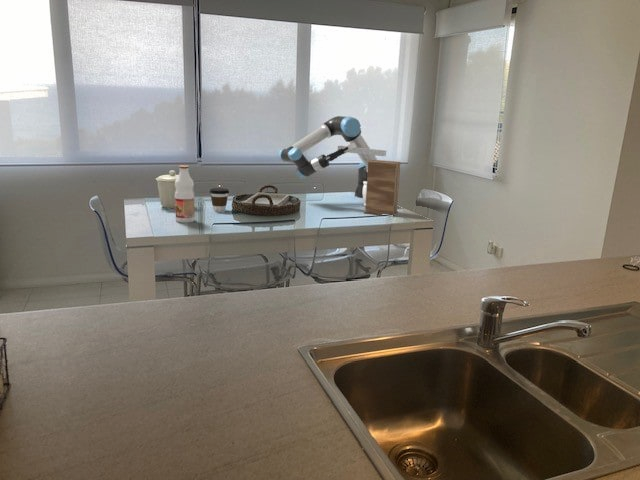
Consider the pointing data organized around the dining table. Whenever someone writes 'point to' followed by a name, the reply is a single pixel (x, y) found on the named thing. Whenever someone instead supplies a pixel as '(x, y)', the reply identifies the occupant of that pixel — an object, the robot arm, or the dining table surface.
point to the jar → (364, 192)
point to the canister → (167, 189)
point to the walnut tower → (382, 187)
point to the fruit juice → (184, 196)
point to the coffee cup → (219, 198)
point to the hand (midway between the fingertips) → (354, 145)
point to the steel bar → (365, 151)
